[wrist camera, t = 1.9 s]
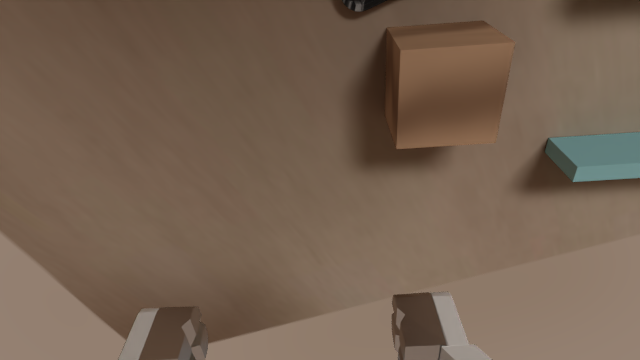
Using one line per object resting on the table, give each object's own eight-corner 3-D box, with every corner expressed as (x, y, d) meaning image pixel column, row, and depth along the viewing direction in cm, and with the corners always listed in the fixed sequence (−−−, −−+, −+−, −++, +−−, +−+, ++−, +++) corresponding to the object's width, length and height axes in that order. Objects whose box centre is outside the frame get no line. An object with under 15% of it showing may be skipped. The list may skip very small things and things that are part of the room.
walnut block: (386, 27, 26) (400, 50, 22) (482, 20, 26) (515, 42, 22) (384, 114, 29) (396, 149, 25) (469, 108, 29) (495, 142, 25)
